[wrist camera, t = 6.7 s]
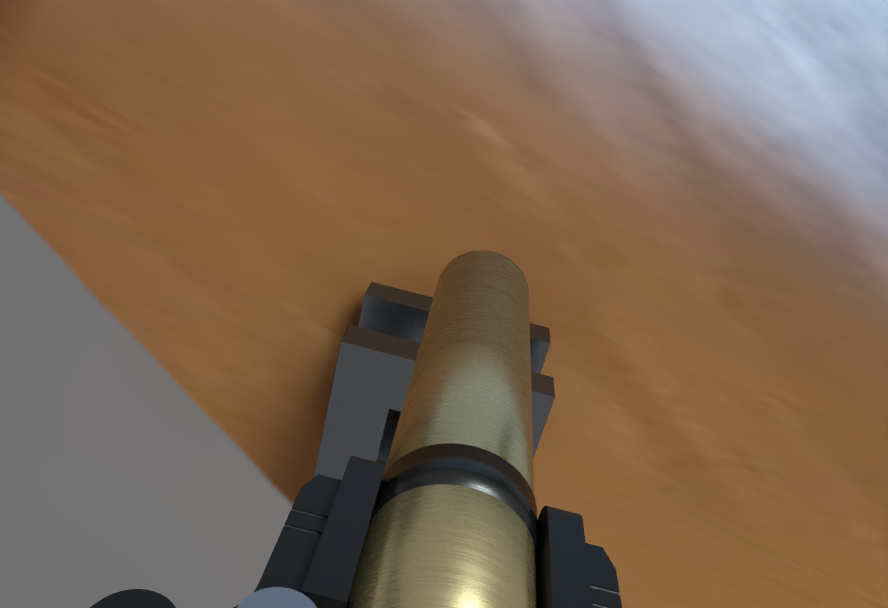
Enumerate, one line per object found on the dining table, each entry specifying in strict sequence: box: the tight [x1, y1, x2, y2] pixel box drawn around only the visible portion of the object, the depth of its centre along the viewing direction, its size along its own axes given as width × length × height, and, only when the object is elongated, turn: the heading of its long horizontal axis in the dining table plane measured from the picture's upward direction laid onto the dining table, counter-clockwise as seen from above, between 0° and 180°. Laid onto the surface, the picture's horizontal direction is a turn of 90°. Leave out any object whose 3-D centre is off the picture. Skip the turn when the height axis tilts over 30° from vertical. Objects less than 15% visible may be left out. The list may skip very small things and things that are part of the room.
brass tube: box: [346, 250, 538, 608], centre depth 17 cm, size 3×3×18 cm
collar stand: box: [314, 282, 555, 480], centre depth 43 cm, size 12×11×10 cm
